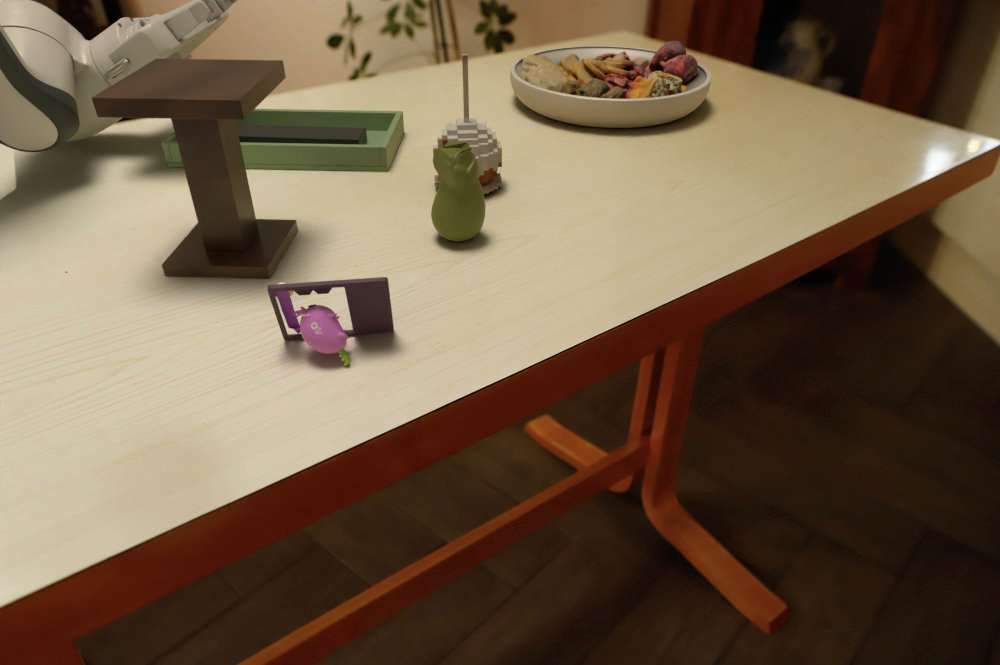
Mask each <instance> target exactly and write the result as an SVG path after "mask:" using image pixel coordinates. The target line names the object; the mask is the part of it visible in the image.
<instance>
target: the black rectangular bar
mask: <svg viewBox="0 0 1000 665" xmlns="http://www.w3.org/2000/svg"><path fill="white" fill-rule="evenodd" d="M236 126H237V130H238V135H239V140H240V142H247V143H303V144H358V145H365V143H366V142H367V133H366V128H353V127H316V126H278V125H241V124H236Z"/></svg>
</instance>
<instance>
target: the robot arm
mask: <svg viewBox="0 0 1000 665" xmlns="http://www.w3.org/2000/svg"><path fill="white" fill-rule="evenodd" d="M238 1H239V0H190V1H188V2H187V3H185V4H182V5H180V6H178V7H177V8H174V9H172V10H170V11H168V12H166V13H163V14H160V13H155V14H152V15H148V16H145V17H128V16H124V17H121V18H119V19H118V20H117V21H115V22H114V23H112V24H111V25H110V26H108V27H107V28H106V29H104V30H103V31H102V32H100V33H99V34H98V35H96V36H95V37H93V38H91V39H90V40H88V39H86V38H85V36H84V34H83V33H82V32H81V31H80V30H78V29H77V27H75V26H74V25H73V24H71V22H69V21H68V20H67V19H65V18H64V17H62V15H60V14H59V13H58V12H57V11H56V10H54V9H52V8H51V7H50V6H48V5H47V4H44V3H43V2H41V1H38V0H0V144H1V145H3V146H5V147H6V148H9V149H12V150H15V151H18V152H24V153H43V152H47V151H50V150H53V149H56V148H58V147H60V146H61V145H63V144H65V143H66V142H73V141H74V142H75V141H79V140H84V139H87V138H89V137H93V136H95V135H97V134H99V133H101V132H103V131H105V130H106V129H108V128H110V127H111V126H113V125H114V124H116V123H117V122H119V121H120V120H122V119H123V118H112V117H97V114H96V111H95V107H94V104H93V101H92V97H94V96H95V95H97V94H98V93H100V92H102V91H103V90H105V89H107V88H108V87H110V86H112V85H113V84H115V83H117V82H118V81H120V80H122V79H123V78H125V77H127V76H128V75H130V74H132V73H133V72H135V71H136V70H138V69H140V68H141V67H143V66H145V65H146V64H148V63H150V62H151V61H153V60H155V59H192V53H193V52H194V51H195V50H196V49H197V48H199V46H200V45H201V44H202V43H203V42H205V41H206V40H207V39H208V38H209V37H210V36H212V35H213V34H214V33H215V32H216V31H217V30H218V29H219V28H220V27H221V26H223V25H224V23H225V22H226V21H227V20H228V18H229V15H230V14H229V12H228V10H229V9H230V8H231V7H232V6H233V5H234V4H235V3H237V2H238Z"/></svg>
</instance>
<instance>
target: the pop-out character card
mask: <svg viewBox="0 0 1000 665" xmlns="http://www.w3.org/2000/svg"><path fill="white" fill-rule="evenodd" d="M335 288H344V291H345V297H346V302H347V306H348V311H349V317H350V322H351V326H352V329H344V328H343V327H342V325H341V323H340V322H339V319H340V318H341V316H340V315H338V313H337V312H335V311H334V310H333V309H332V308H330V307H328V306H325V305H322V304H317V303H316V304H310V305H307V308H306V307H304V306H300V307H299V308H300V309H299V310H295V308H294V305H293V301H292V298H291V297H292V296H293V294H294V293H296V294H297V295H298V296H310V295H311V294H312V293H313V292H315V293H316V294H317V295H326V294H330V292H331V291H332V289H335ZM267 294H268V296H269V300H270V302H271V305H272V309H273V311H274V314H275V316H276V317H275V318H276V320H277V323H278V326H279V329H280V333H281V335H282V338H283V340H284V341H293V340H303V341H304V342H305V343H306V345H308V346H309V347H310V348H311V349H313V350H314V351H316V352H318V353H322V354H327V355H329V354H330V355H331V354H335V353H337V354H338V355H339V358H341V359H340V361H342V362H344V364H343V366H349V365H350V364H351V362H350V358H349V356H348V355H347V352H346V351H345V348H346V346H347V340H348V339H350V336H358V335H359V336H360V335H361V336H362V335H372V334H373V335H374V334H386V333H387V334H388V333H393V332H395V328H394V319H393V318H394V317H393V309H392V301H391V294H390V284H389V278H388V277H387V276H381V277H380V276H379V277H366V278H365V277H364V278H352V279H335V280H322V281H321V280H320V281H319V280H318V281H307V282H292V283H286V282H278V283H277V284H275V283H274V284H269V285H267ZM278 302H279V303H278ZM280 309H281V310H280ZM281 312H282V313H281ZM282 315H283V316H282ZM300 316H301V317H300ZM298 317H300V321H299V319H298ZM283 318H284V319H285V321H284V319H283ZM285 322H286V325H287V327H286V325H285ZM287 328H288V329H292V330H294V332H296V333H292V334H289V333H288V331H287Z"/></svg>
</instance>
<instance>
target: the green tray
mask: <svg viewBox="0 0 1000 665" xmlns="http://www.w3.org/2000/svg"><path fill="white" fill-rule="evenodd" d="M235 121H236V124H241V125H278V126H316V127H353V128H366V133H367V142H366V143H365V145H358V144H303V143H247V142H240V145H241V150H242V154H243V159H244V164H245V169H252V170H253V169H256V170H301V171H303V170H305V171H306V170H307V171H308V170H311V171H354V172H355V171H357V172H358V171H359V172H360V171H361V172H388V171H389V170H390V168H391V165H392V162H393V161H394V159H395V155H396V154H397V151H398V149H399V147H400V144H401V142H402V140H403V137H404V134H405V123H404V110H357V109H356V110H355V109H354V110H353V109H352V110H346V109H297V108H296V109H295V108H293V109H292V108H291V109H290V108H289V109H288V108H287V109H286V108H255V109H254V110H253V111H252V112H251V113H250V114H249V115H248V116H247V117H246V118H245V119H244V120H235ZM161 147H162V150H163V154H164V157H165V158H164V159H165V161H166V165H167V168H184V166H183V162H182V159H181V155H180V151H179V147H178V143H177V139H176V136H175V132H174V131H173V133H172V134H170V135H169V136H168V137H167V138H166V139H165V140H163V141H162V142H161Z"/></svg>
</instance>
